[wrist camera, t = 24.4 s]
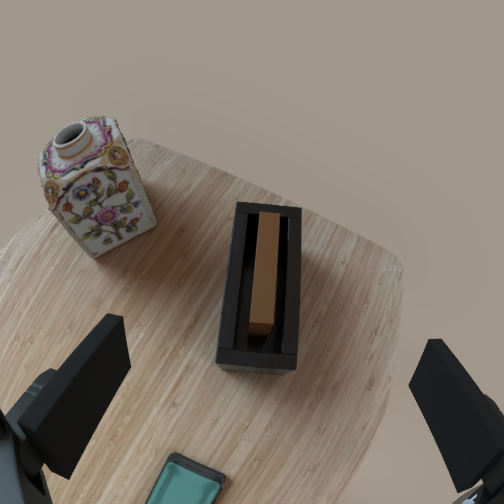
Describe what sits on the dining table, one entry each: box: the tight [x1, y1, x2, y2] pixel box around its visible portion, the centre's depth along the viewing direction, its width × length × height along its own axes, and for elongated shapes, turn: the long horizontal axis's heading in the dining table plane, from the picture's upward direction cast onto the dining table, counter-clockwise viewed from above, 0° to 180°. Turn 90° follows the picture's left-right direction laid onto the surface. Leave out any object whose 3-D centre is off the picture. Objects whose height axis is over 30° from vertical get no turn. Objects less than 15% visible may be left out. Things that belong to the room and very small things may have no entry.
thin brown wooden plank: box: [247, 212, 280, 345], centre depth 32 cm, size 11×2×12 cm, turn 175°
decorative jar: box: [38, 116, 157, 259], centre depth 35 cm, size 12×12×18 cm
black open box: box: [216, 202, 302, 375], centre depth 34 cm, size 18×8×9 cm, turn 175°
